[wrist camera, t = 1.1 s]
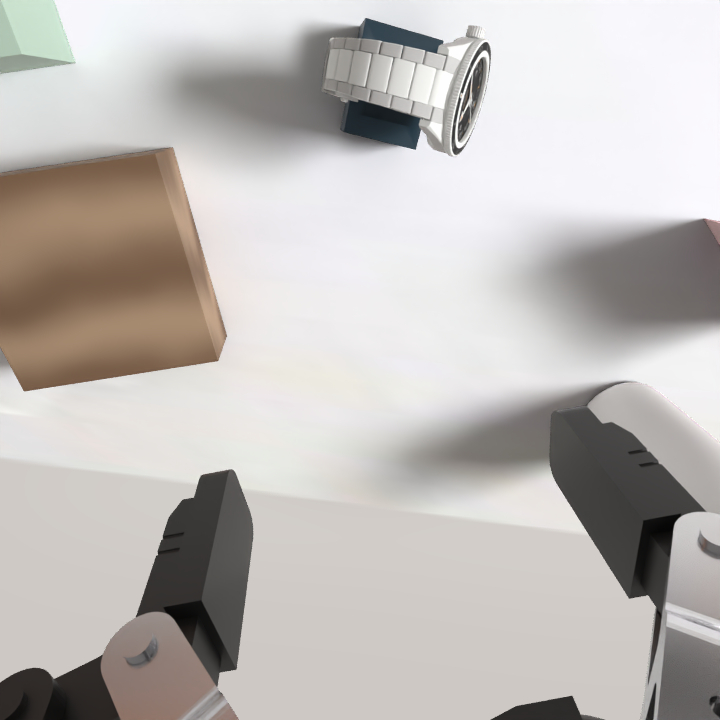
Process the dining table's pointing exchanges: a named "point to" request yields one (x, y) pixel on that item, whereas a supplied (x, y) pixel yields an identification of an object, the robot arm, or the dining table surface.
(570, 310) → the dining table surface
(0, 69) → the block
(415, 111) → the watch
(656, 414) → the milk bottle
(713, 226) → the greeting card
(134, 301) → the plinth
